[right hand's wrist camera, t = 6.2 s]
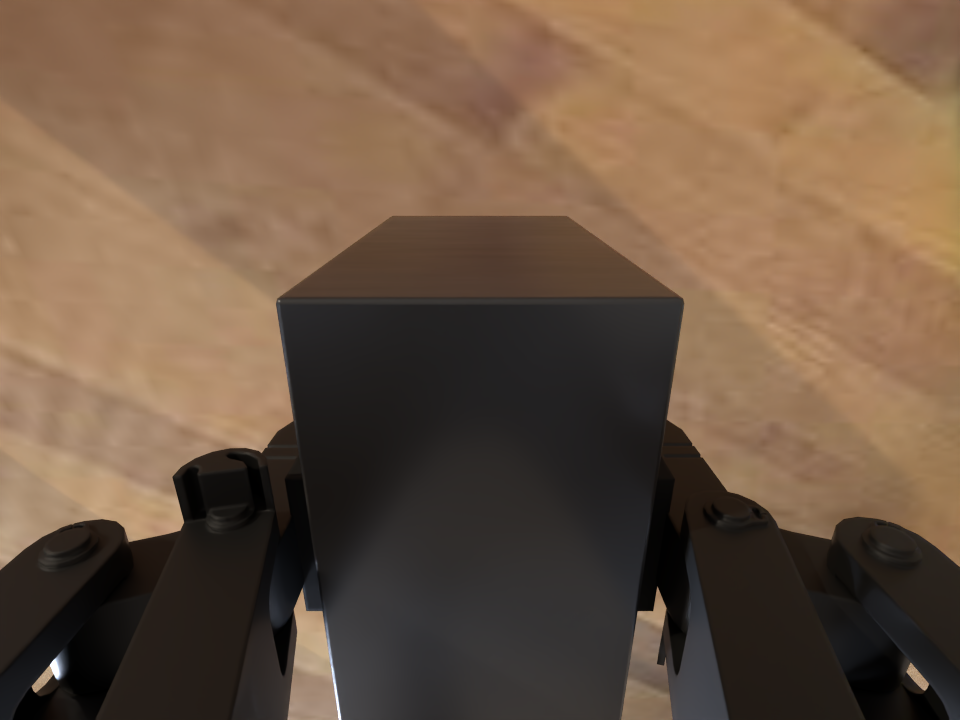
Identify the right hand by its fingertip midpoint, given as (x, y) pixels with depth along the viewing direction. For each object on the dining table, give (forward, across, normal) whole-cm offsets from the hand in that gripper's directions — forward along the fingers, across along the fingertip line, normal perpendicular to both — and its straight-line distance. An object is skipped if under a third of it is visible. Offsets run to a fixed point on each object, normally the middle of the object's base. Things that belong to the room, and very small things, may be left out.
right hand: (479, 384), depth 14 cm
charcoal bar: (0, 0, +8) cm, 9 cm away
